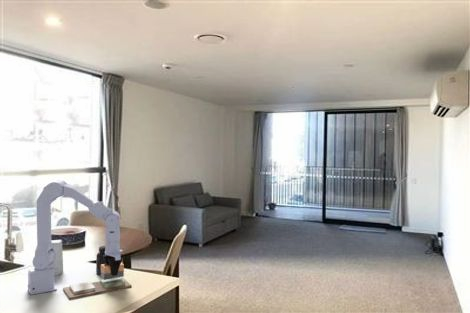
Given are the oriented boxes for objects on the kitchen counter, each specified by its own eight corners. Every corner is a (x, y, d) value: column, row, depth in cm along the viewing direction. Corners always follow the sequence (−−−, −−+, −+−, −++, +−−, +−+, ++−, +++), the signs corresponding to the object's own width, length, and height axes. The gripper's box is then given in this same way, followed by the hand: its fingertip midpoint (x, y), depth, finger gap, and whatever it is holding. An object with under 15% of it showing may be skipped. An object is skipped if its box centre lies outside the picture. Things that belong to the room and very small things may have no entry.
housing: (123, 276, 158) (123, 263, 158) (104, 279, 154) (104, 266, 154) (119, 273, 162) (119, 260, 162) (100, 276, 158) (100, 263, 158)
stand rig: (69, 299, 143) (69, 294, 143) (63, 290, 153) (63, 285, 153) (131, 287, 157) (131, 282, 157) (121, 279, 166) (122, 274, 166)
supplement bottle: (102, 276, 170) (103, 249, 170) (92, 273, 174) (93, 247, 174) (115, 272, 176) (115, 246, 176) (105, 269, 180) (105, 244, 179)
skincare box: (63, 271, 177) (63, 239, 177) (60, 275, 171) (60, 242, 171) (43, 272, 175) (43, 240, 175) (40, 276, 169) (40, 243, 169)
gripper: (128, 243, 154) (127, 276, 154) (116, 236, 166) (116, 267, 166) (110, 245, 150) (110, 279, 150) (100, 238, 162) (100, 270, 162)
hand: (112, 273), depth 158 cm, fingers closed on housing, 5 cm apart
